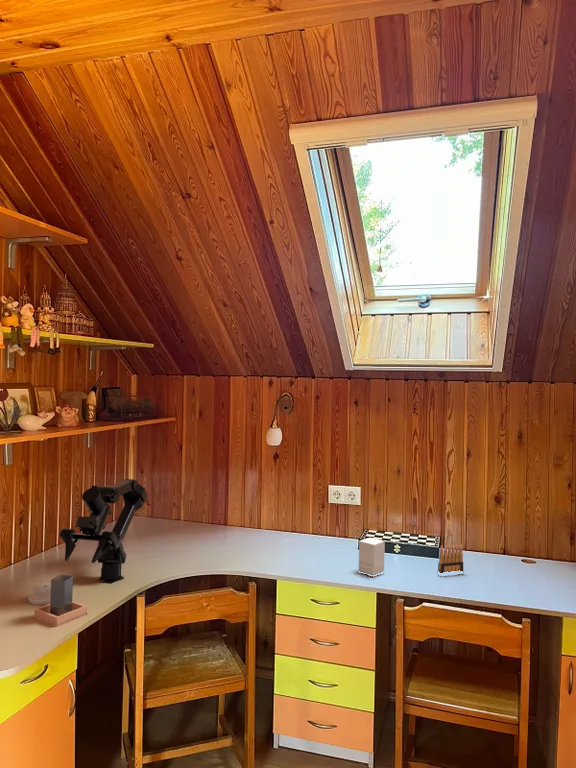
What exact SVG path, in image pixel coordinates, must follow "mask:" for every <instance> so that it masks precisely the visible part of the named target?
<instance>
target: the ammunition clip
mask: <svg viewBox="0 0 576 768" xmlns="http://www.w3.org/2000/svg"><path fill="white" fill-rule="evenodd" d="M439 550H440V551H439V557H438V558H439V562H438V564H437V572H438V571H439V572H440V573H443V572H447V571H448V572H451V571H459V570H460V571H463V572H464V561H463V560H464V557H463V556H464V554H463V545H462V543H460V544H458V543H456V545H455V544H454V543H453V544H452V547H451V544H448V546H447V544H445V545H444V547H443V545H440V549H439Z"/></svg>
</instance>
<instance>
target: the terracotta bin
mask: <svg viewBox="0 0 576 768" xmlns="http://www.w3.org/2000/svg"><path fill="white" fill-rule="evenodd" d="M86 615H88V605H85V604H83V603H79V602H77V601H73V600H72V611H70V612H68V613H65V614H63V615H60V616H55V615H53V614H50V604H44V605H42V606H40V607H37V608H34V619H37V620H39V621H41V620H42V621H41V622H44V623H46V622H47V624H49V623H50V624H49V625H51V624H52V625H51V626H54V625H55V627H56V626H57V627H59V625H60V626H62V625H65V624H67V623H70V622H71V621H74V620H76V619H79V618H82V617H85V616H86ZM69 621H70V622H69ZM64 623H65V624H64Z"/></svg>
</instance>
